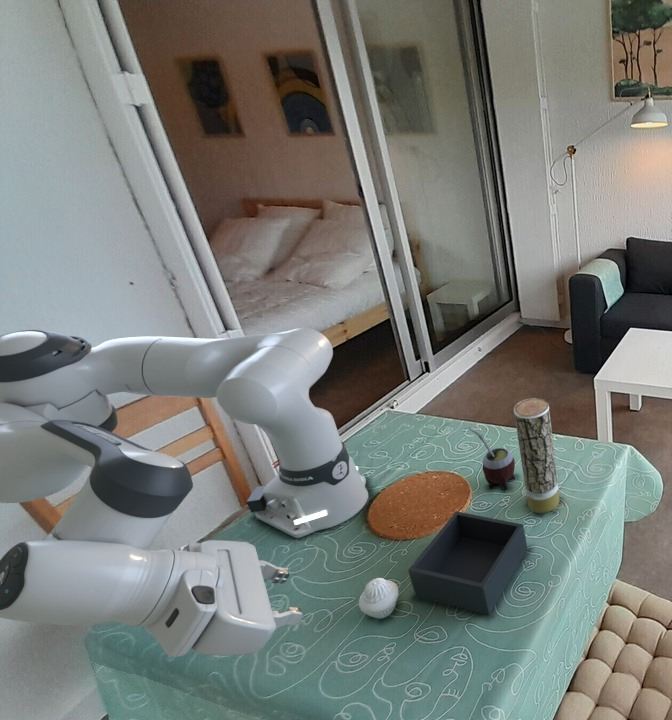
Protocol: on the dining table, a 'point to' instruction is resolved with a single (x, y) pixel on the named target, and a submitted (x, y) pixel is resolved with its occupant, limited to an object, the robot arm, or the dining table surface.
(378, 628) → the dining table surface
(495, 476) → the mate gourd
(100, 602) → the robot arm
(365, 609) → the white rounded piece
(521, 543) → the bin
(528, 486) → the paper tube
